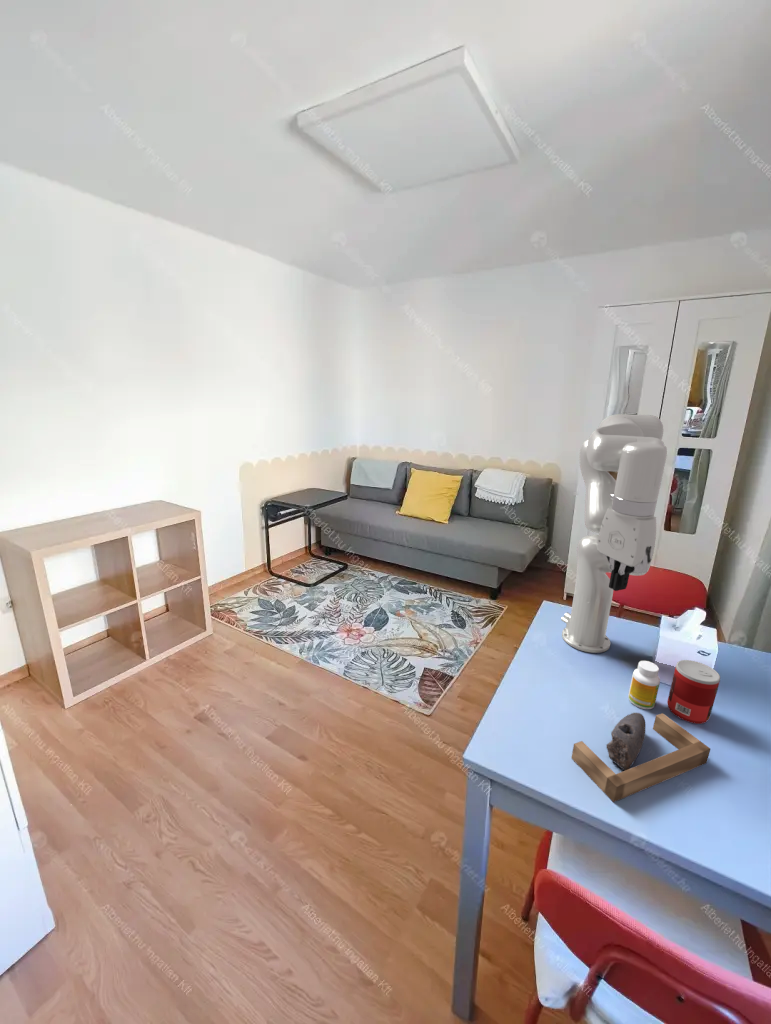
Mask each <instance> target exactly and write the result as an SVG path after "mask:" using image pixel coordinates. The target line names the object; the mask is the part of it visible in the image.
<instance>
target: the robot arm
mask: <svg viewBox="0 0 771 1024" xmlns="http://www.w3.org/2000/svg"><path fill="white" fill-rule="evenodd" d="M663 437H664V425H663V422H662V420H661V419H660V418H659V417H657V416H656V415H652V414H631V413H626V414H625V413H619V414H617V413H615V414H612V415H609V416H607V417H605V418H604V419H602V421H601V422H600V423H599V426H598V427H597V428H596V429H594V430H593V431H592V432H591V434H590V436H589V438H588V439H587V438H586V439H585V440H584V441H583V442H582V443H581V445H580V448H579V454H578V455H579V460H578V461H579V467H580V472H581V476H582V479H583V481H584V485H585V486H584V487H585V500H584V525H585V527H586V529H587V530H588V531H589V532H593V533H595V534H587V535H585V536H583V537H581V538H580V539H579V540H578V543H577V547H576V548H577V550H576V559H577V560H576V564H577V565H576V577H575V585H574V593H573V599H572V603H571V604H572V605H571V611H570V612H565V613H564V615H563V616H562V617H561V618H560V619H561V621H562V622H563V623H565V624H566V626H565V627H564V628H563V629H562V631H561V637H562V639H563V641H564V642H565V643H566V644H568V645H569V646H571V647H572V648H574V649H576V650H579V651H582V652H586V653H592V654H593V653H594V654H596V653H597V654H599V653H604V652H606V651H608V650H609V649H610V647H611V641H610V638H609V637H608V636H607V635H606V634H607V628H608V623H609V618H610V612H611V606H612V601H613V594H614V591H615V592H618V591H621V590H626V589H627V587H628V583H629V577H630V576H645V574H647V573H648V572H649V570H650V567H651V563H652V559H653V556H654V553H655V552H654V551H655V546H656V541H657V540H656V539H657V538H656V537H657V517H656V516H655V512H656V508H657V502H658V499H659V494H660V488H661V483H662V479H663V474H664V470H665V466H666V465H665V464H666V461H667V456H668V448H667V446H665V444H664V441H662V440H663ZM610 472H617V476H616V479H615V478H614V477H613V475H611V474H610ZM607 573H610V577H609V576H608V575H607Z"/></svg>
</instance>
